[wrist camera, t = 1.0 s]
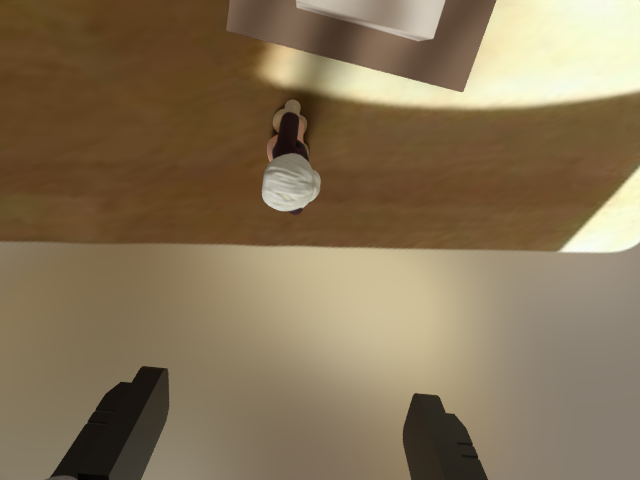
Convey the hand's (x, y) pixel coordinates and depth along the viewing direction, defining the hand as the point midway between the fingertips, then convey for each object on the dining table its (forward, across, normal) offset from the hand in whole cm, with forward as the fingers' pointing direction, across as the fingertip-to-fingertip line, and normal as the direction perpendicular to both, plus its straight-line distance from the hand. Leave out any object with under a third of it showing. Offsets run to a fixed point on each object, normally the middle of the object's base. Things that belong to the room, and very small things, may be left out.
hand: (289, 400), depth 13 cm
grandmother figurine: (+23, +2, -4) cm, 23 cm away
